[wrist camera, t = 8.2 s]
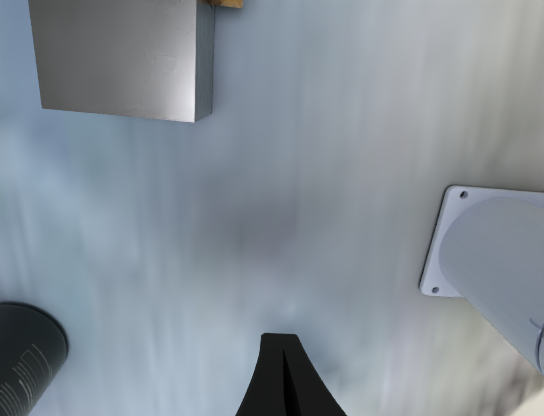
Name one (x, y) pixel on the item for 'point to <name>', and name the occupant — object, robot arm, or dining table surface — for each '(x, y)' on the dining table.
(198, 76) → the hitch beam
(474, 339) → the dining table surface
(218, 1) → the lynch pin
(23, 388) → the supplement bottle
